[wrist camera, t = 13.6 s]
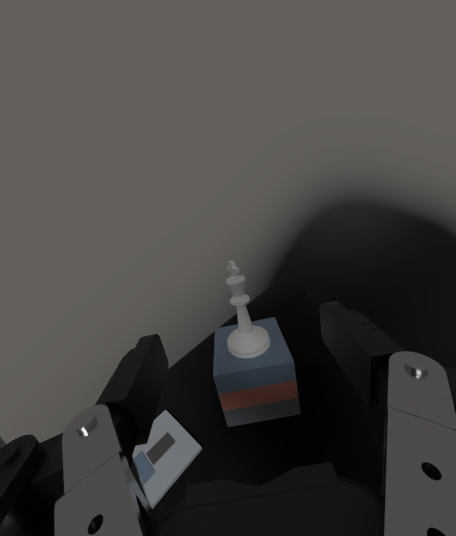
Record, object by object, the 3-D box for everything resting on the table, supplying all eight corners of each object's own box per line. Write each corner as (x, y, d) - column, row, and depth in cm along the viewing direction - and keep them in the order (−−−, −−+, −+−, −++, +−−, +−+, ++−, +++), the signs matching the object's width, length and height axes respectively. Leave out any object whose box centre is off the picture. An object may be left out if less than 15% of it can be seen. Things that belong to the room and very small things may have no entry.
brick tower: (300, 414, 23) (293, 361, 21) (227, 427, 24) (213, 376, 21) (281, 360, 31) (274, 317, 29) (226, 370, 31) (215, 328, 29)
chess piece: (252, 324, 28) (238, 251, 25) (279, 342, 24) (266, 256, 21) (220, 343, 26) (199, 265, 23) (243, 366, 22) (222, 274, 19)
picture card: (98, 574, 16) (96, 571, 16) (76, 495, 21) (74, 492, 20) (202, 448, 22) (201, 446, 22) (166, 411, 27) (165, 409, 27)
